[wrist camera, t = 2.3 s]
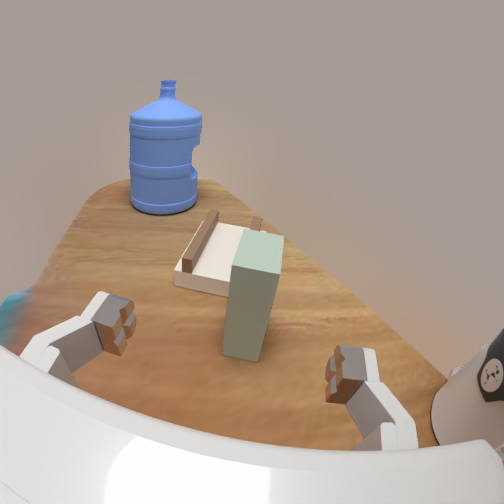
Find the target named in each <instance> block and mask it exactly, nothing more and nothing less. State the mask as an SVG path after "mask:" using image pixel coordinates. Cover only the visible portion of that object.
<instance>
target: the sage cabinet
mask: <svg viewBox="0 0 504 504" xmlns="http://www.w3.org/2000/svg"><path fill="white" fill-rule="evenodd" d="M283 244H284V236H281V235H276V234H271V233H266V232H260V231H255V230H250V229H245V228H244V231H243V234H242V236H241V239H240V242H239V245H238V248H237V251H236V254H235V257H234V260H233V263H232V266H231V275H230V284H229V293H228V301H227V310H226V320H225V329H224V338H223V348H222V355H224V356H229V357H234V358H239V359H244V360H249V361H254V362H258V359H259V355H260V352H261V348H262V344H263V340H264V337H265V333H266V329H267V325H268V321H269V317H270V313H271V309H272V305H273V301H274V297H275V293H276V289H277V285H278V281H279V277H280V271H281V262H282V253H283Z"/></svg>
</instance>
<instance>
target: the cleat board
mask: <svg viewBox="0 0 504 504" xmlns="http://www.w3.org/2000/svg"><path fill="white" fill-rule="evenodd" d="M218 215H219V211H218V210H212V209H211V210H210V212H209V213H208V215H207V217H206V218H205V220H203V222H202V224H201V225H200V227H199V229H198V230H197V232H196V233H195V235H194V237H193V238H192V240H191V242H190V243H189V245H188V247H187V248H186V250H185V252H184V254H183V255H182V257H181V259H180V260H179V262H178V264H177V266H176V267H175V269H174V286H179V287H183V288H188V289H192V290H197V291H201V292H206V293H210V294H215V295H220V296H224V297H228V293H229V284H230V275H231V266H232V263H233V260H234V257H235V254H236V251H237V248H238V245H239V242H240V239H241V236H242V234H243V231H244V228H245V227H240V226H234V225H229V224H223V223H218ZM261 221H262V218H257V217H254V218H253V221H252V224H251V227H250V228H245V229H250V230H255V231H260V232H266V231H261V230H260V227H261Z"/></svg>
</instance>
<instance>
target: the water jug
mask: <svg viewBox="0 0 504 504" xmlns="http://www.w3.org/2000/svg"><path fill="white" fill-rule="evenodd" d="M161 83H162V86H161V89H160V91H161V94H160V98H159V99H158V100H157V101H155V102H153V103H151V104H149V105H147V106H145V107H143V108H141V109H139V110H137V111H135V112H133V113H132V114H131V116H130V125H129V126H130V127H129V130H130V161H129V163H130V175H131V202H132V204H133V206H134V207H135V208H137V209H138V210H140V211H142V212H145V213H150V214H158V215H165V214H174V213H178V212H182V211H184V210H186V209H188V208H190V207H191V206H192V205H193V204H194V203H195V201H196V198H197V190H196V188H197V171H196V170H195V168H193V167H192V165H191V160H192V151H193V149H194V147H195V146H197V145H199V143H200V133H201V129H202V114H201V113H200V112H198V111H196V110H195V109H193V108H191V107H189V106H187V105H186V104H183V103H182V102H180V101H178V100H176V98H175V90H176V88H175V83H176V80H175V81H174V80H164V81H163V80H162V81H161Z"/></svg>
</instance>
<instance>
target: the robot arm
mask: <svg viewBox="0 0 504 504" xmlns="http://www.w3.org/2000/svg"><path fill="white" fill-rule="evenodd" d="M133 309H134V303H133V301H131V300H128V299H125V298H122V297H119V296H116V295H113V294H109V293H106V292H103V291H100V292H98V293H97V294H96V295H95V297H94V298H93V299H92V301H91V302H90V303H89V305H88V306H87V307H86V309H85V310H84V312H83V313H82V314H81V316H75V317H73V318H71V319H69V320H67V321H65V322H63V323H60V324H58V325H56V326H54V327H52V328H50V329H48V330H46V331H44V332H41V333H39V334H37V335H35V336H34V337H33V338H32V340H31V341H30V342H29V344H28V345H27V347H26V348H25V349H24V351H23V352H22V354H21V355H20V357H18V356H17V355H15V354H14V353H12V352H10V351H9V350H7V349H6V348H4V347H3V346H1V345H0V504H504V465H503V462H504V329H503V330H502V331H500V332H499V334H498V335H497V336H496V337H495V340H494V341H493V342H492V344H491V345H485V346H483V347H482V348H481V349H480V350H479V351H478V352H477V353H476V354H475V355H474V356H473V357H472V358H471V359H470V360H469V361H468V362H467V363H466V364H465V365H464V366H463V367H455V368H454V369H453V370H452V371H451V372H450V374H449V377H448V381H447V382H446V384H445V385H443V386H442V387H441V388H440V389H439V391H438V392H437V394H436V395H435V398H434V400H433V404H432V410H431V418H432V425H433V430H434V433H435V436H436V438H437V440H438V442H439V444H440V445H441V446H434V447H425V448H418V441H417V433H416V426H415V421H414V420H413V419H412V417H411V416H410V415H409V414H408V412H407V411H406V410H405V409H404V407H403V406H402V405H401V404H400V403H399V401H398V400H397V399H396V398H395V396H394V395H393V394H392V393H391V391H390V390H389V389H388V388H387V387H386V385H385V384H384V383H383V382H380V378H379V372H378V366H377V360H376V354H375V351H374V349H369V348H361V347H354V346H346V345H337V346H336V348H335V350H334V355H333V356H332V357H330V359H329V361H328V363H327V367H326V373H325V379H326V380H327V382H328V383H329V384H328V385H327V387H326V388H325V389H326V402H329V403H338V404H345V406H346V408H347V410H348V412H349V413H350V415H351V417H352V418H353V420H354V422H355V424H356V425H357V427H358V429H359V431H360V432H361V434H362V436H363V438H364V439H363V440H362V441H361V442H359V443H358V444H357V445H356V446H355V447H353V451H339V450H319V449H306V448H296V447H286V446H278V445H271V444H264V443H257V442H251V441H245V440H240V439H235V438H230V437H225V436H220V435H215V434H211V433H207V432H203V431H198V430H195V429H191V428H187V427H183V426H180V425H176V424H173V423H169V422H166V421H163V420H159V419H156V418H153V417H150V416H147V415H144V414H141V413H138V412H135V411H133V410H130V409H127V408H124V407H122V406H119V405H116V404H114V403H111V402H109V401H106V400H104V399H102V398H99V397H97V396H94V395H92V394H90V393H88V392H85V391H83V390H81V389H79V388H77V385H78V384H77V381H76V380H75V378H74V376H73V374H72V373H73V372H74V371H76V370H77V369H79V368H80V367H82V366H83V365H85V364H86V363H87V362H89V361H90V360H92V359H93V358H95V357H96V356H98V355H99V354H101V353H102V352H103V351H106V352H109V353H112V354H115V355H118V356H121V355H122V354H123V352H124V350H125V348H126V346H127V341H126V339H128V338H130V337H132V335H133V333H134V331H135V327H136V315H135V314H134V312H133Z"/></svg>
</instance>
